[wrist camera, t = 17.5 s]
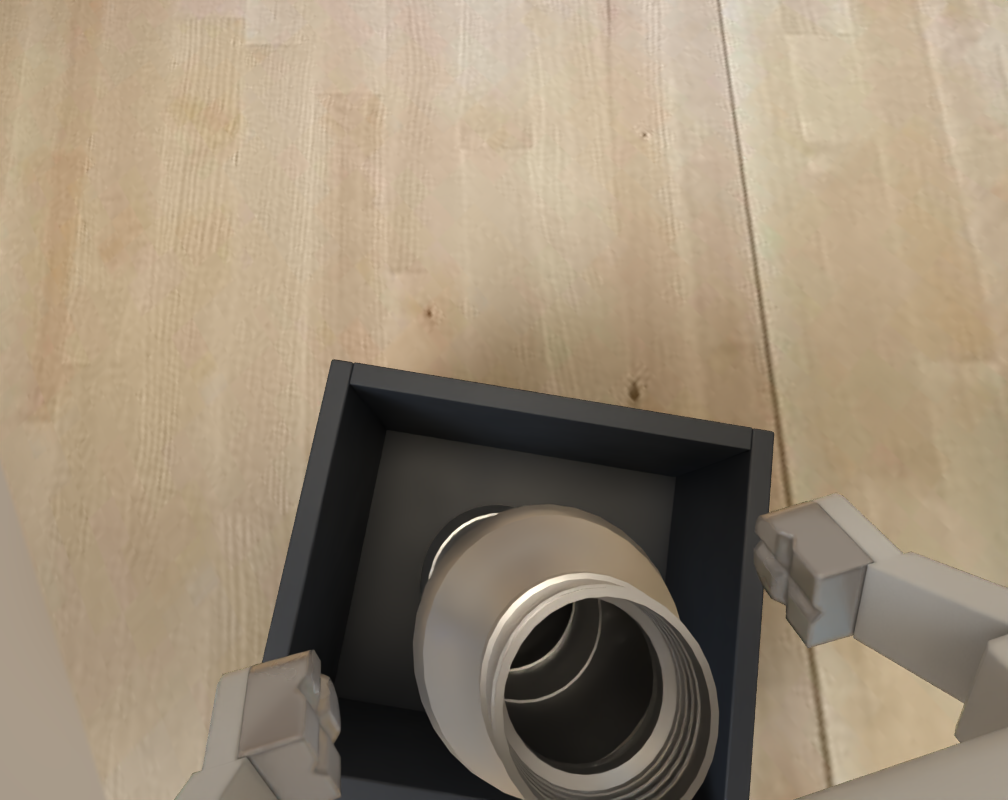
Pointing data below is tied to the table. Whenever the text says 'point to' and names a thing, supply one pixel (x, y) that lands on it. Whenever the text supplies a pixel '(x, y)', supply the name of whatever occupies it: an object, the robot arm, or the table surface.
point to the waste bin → (511, 482)
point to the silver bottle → (560, 659)
